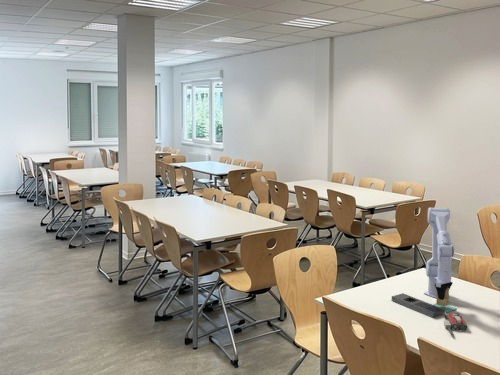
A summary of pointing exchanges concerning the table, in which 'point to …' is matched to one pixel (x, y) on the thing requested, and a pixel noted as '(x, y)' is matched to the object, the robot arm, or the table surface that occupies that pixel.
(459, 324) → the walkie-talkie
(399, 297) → the rack frame
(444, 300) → the oak peg
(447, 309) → the teal mat
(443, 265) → the robot arm
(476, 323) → the table surface
